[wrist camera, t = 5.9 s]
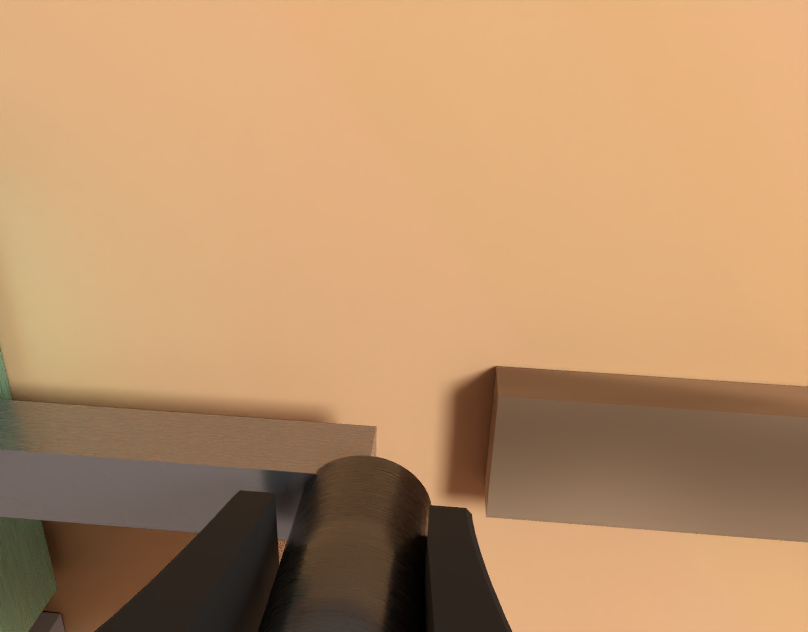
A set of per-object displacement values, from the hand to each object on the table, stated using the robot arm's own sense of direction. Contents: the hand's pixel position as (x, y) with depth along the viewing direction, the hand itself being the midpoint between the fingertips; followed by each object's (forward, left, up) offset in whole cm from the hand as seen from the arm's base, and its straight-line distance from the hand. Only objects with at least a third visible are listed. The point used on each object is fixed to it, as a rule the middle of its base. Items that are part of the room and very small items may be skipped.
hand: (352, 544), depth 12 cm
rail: (0, -7, -4) cm, 8 cm away
